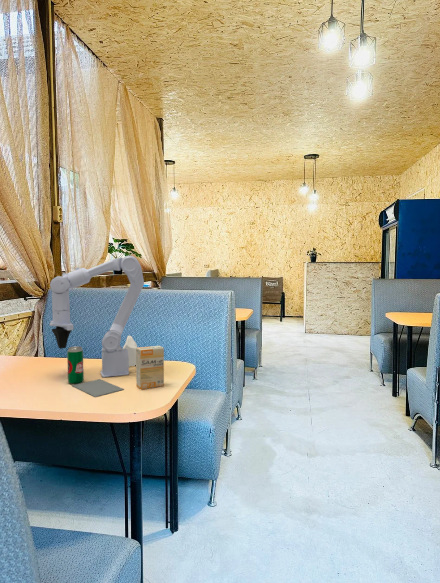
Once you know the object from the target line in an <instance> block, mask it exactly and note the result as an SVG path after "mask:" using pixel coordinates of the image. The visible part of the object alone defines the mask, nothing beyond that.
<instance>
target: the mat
mask: <svg viewBox="0 0 440 583" xmlns="http://www.w3.org/2000/svg"><path fill="white" fill-rule="evenodd" d="M71 386H72V387H73V388H75V389H76V390H79V391H81V392H83V393H85V394H87V395H89V396H92V398H97V397H102V396H105V395H109V394H113V393H117V392H121V391H124V390H125V388H123V387H120V386H118V385H116V384H113V383H110V382H108V381H105V380H103V379H101V378H99V379H95V380H91V381H90V380H89V381H85V382H82V383H79V384H71Z"/></svg>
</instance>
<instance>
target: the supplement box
mask: <svg viewBox="0 0 440 583" xmlns="http://www.w3.org/2000/svg"><path fill="white" fill-rule="evenodd" d="M164 363H165V349H164V347H163V346H161V345H151V346H141V347H139V346H137V348H136V366H135V369H136V370H135V373H136V374H135V379H136V380H135V381H136V382H135V383H136V384H135V385H136V387H137V388H138V389H139V390H140V389H141V390H147V389H146V388H148V389H152V387H154V388H157V387H158V386H160V387H164V386H165V364H164ZM158 388H159V387H158Z"/></svg>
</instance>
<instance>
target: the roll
mask: <svg viewBox="0 0 440 583" xmlns="http://www.w3.org/2000/svg"><path fill="white" fill-rule="evenodd" d="M137 347H138V345H137V342H136V341H135V340H134V338H133V336H131V334H130V335H128V336H126V340H125V343H124V345H123V347H122V349H127V350H128V358H129V368H131V367H130V366H134V367H136V366H135V365H136V348H137Z"/></svg>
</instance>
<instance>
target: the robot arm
mask: <svg viewBox="0 0 440 583" xmlns="http://www.w3.org/2000/svg"><path fill="white" fill-rule="evenodd" d="M74 269H75V270H72V271H70V272H67V273H66V272H63V273H62V275H61V276H59V275H58V276H56V277H54V278H52V280H51V281H50V283H49V284H50V285H49V286H50V289H51V291H52V292H51V296H52V297H51V301H52V302H51V306H52V310H51V311H52V320H50V321H49V322H50V323H49V326H50V327H55V328H51V332H52V333H53V335H54V337H55V341H56V343H57V347H58V349H62V350H63V349H66V348H67V344H68V340H69V337H70V334H71V333H72V331H73V330H74V324H72V322H71V314H70V313H71V312H70V310H71V309H70V307H71V306H70V304H71V303H70V294H69V293H70V292H69V290H70V289H72V290H73V289H75V288H78V287H80V286H84V285H86V284H88V283H90V282H91V279H92V278H93V277H96V276H99V275H102V274H104V273H105V274H106V273H108V272H110V271H118V272H119V271H121V270H122V271H123V273H124V274H125V275H126V276H127V279H128V281H129V283H130V285H129V287H128V289H127V291H126V294H125V295H124V298H123V300H122V302H121V305H119V306H120V307H119V309H118V311H117V314H116V315H115V317H114V319H113V322H112V325H111V326H110V328H109V329H108V330H107V331H106V332H105V334H104V335H103V337H102V339H101V346H102V348H101V367H102V368H101V370H100V371H99V372H100V374H101V377H102V378H107V377H108V378H109V377H116V376H117V377H118V376H128V375H130V367H129V358H128V350H127V349H123V347H122V346H121V345H120V344H121V341H122V335H123V331H124V330H125V328H126V324H127V323H128V321H129V319H130V316H131V313H132V312H133V310H134V307H135V306H136V303H137V301H138V299H139V296H140V294H141V292H142V290H143V287H144V286H145V280H144V275H143V269H142V265H141V263H140V261H139V260H138V259H137V257H135V256H133V255H126V256H124V257H118V258H113V259H110V260H107V261H105V262H102V263H100V264H98V265H96V266H94V267H93V266H92V267H91V268H88V269H87V268H85V267H79V266H78V267H76V268H74Z"/></svg>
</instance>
